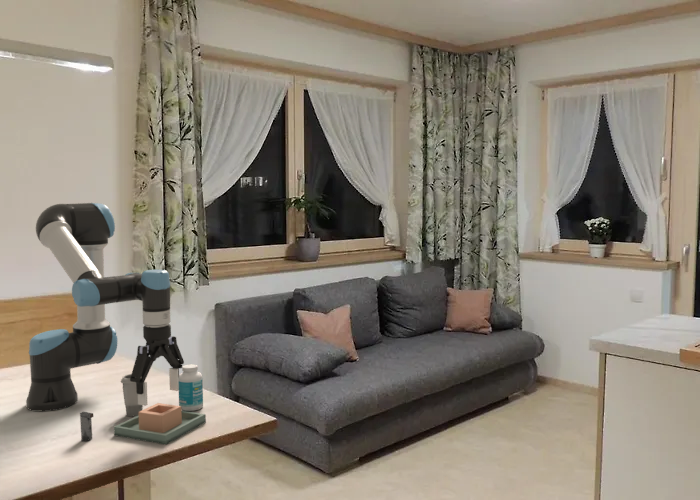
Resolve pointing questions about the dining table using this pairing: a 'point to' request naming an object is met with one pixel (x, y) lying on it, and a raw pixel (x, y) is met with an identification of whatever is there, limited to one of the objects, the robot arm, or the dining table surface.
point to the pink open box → (160, 417)
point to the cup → (130, 396)
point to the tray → (132, 431)
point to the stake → (86, 426)
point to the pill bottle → (190, 388)
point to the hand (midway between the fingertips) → (159, 397)
